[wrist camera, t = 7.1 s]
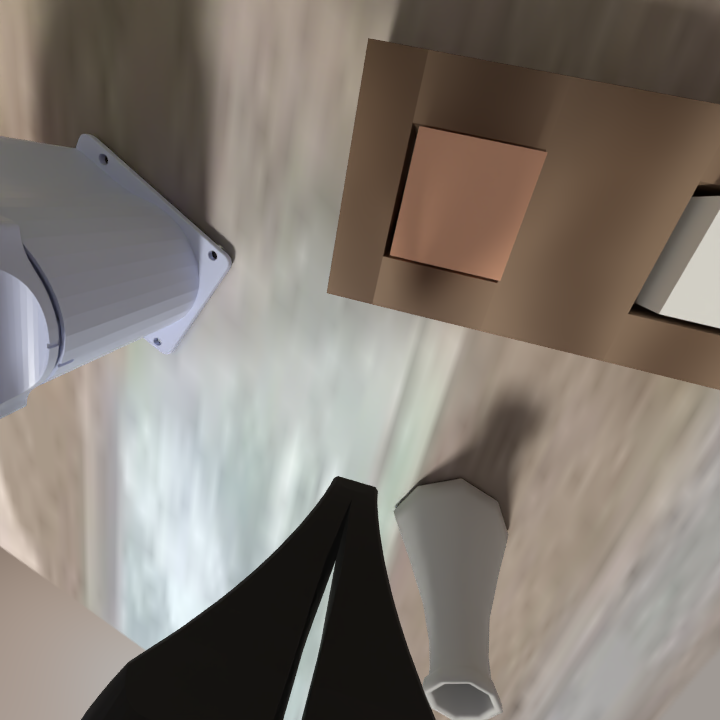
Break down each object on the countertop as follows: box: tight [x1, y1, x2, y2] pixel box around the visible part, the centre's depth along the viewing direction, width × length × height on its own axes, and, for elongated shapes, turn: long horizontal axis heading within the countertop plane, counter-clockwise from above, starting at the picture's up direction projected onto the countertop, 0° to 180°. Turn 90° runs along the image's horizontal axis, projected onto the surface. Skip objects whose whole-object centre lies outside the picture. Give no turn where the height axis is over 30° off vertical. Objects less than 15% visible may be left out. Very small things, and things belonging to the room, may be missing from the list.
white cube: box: [634, 196, 720, 328], centre depth 14 cm, size 4×4×4 cm
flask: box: [394, 479, 508, 720], centre depth 20 cm, size 7×7×10 cm
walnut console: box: [327, 38, 720, 390], centre depth 15 cm, size 19×9×4 cm, turn 78°
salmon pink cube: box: [390, 126, 548, 281], centre depth 14 cm, size 4×4×4 cm
